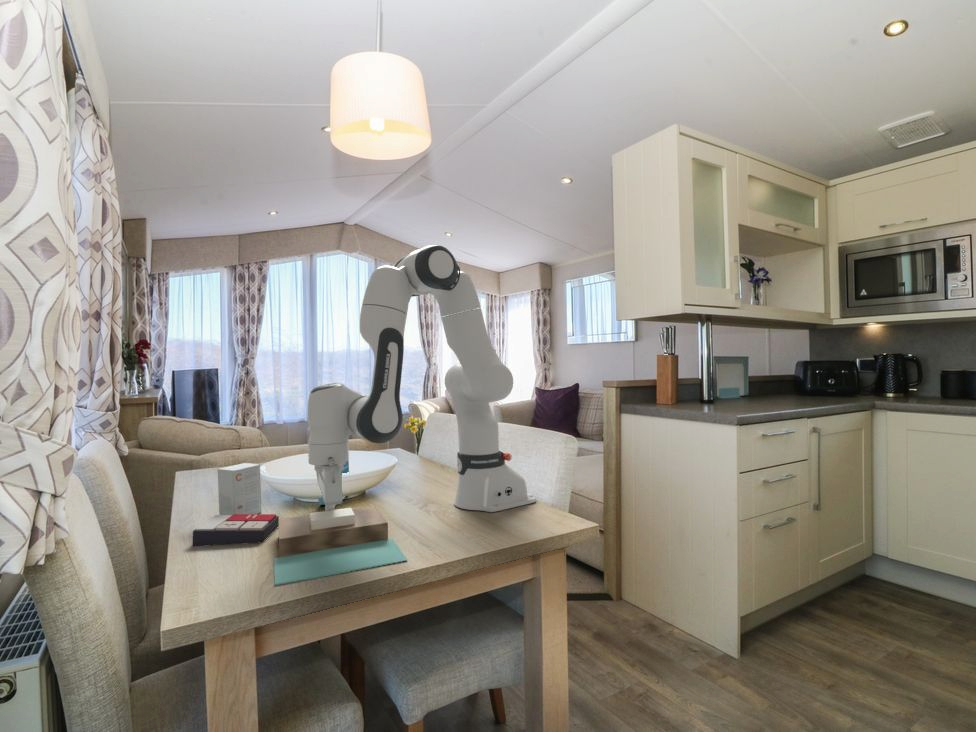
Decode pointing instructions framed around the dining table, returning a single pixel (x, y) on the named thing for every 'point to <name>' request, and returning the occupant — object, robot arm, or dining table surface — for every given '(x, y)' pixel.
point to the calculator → (235, 529)
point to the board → (331, 533)
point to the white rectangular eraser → (332, 518)
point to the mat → (336, 561)
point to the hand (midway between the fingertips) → (330, 514)
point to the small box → (239, 489)
